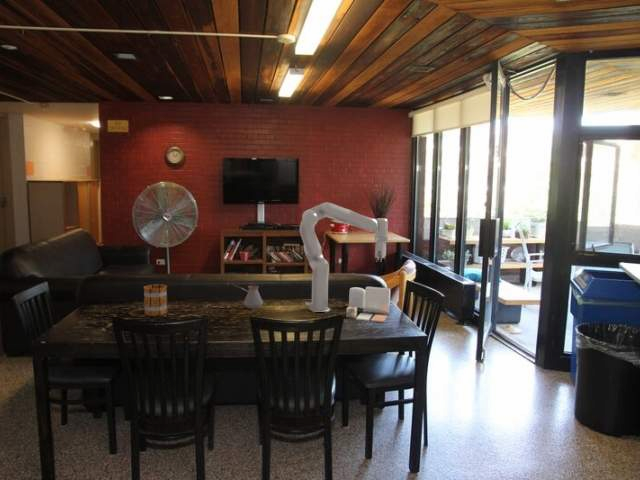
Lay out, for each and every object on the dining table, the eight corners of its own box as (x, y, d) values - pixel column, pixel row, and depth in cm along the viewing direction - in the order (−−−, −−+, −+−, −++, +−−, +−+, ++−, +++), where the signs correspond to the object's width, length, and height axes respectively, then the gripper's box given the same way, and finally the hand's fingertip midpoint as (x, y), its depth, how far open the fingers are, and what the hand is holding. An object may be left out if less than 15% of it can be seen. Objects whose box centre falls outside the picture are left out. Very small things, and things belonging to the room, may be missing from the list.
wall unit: (362, 312, 291) (363, 288, 289) (365, 309, 299) (366, 285, 297) (389, 315, 286) (390, 290, 285) (391, 312, 294) (392, 288, 292)
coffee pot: (264, 305, 303) (264, 281, 301) (260, 310, 292) (261, 285, 290) (229, 304, 304) (229, 280, 302) (225, 309, 293) (225, 284, 291)
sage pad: (355, 319, 276) (355, 318, 276) (360, 314, 287) (360, 312, 287) (368, 320, 274) (368, 319, 274) (372, 315, 285) (372, 314, 285)
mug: (162, 316, 275) (161, 289, 273) (139, 314, 276) (138, 288, 274) (176, 307, 294) (176, 282, 292) (154, 306, 296) (154, 281, 294)
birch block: (346, 317, 281) (346, 308, 281) (348, 314, 286) (348, 306, 286) (354, 317, 280) (355, 309, 279) (356, 315, 285) (357, 307, 284)
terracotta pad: (370, 321, 273) (370, 319, 273) (375, 315, 285) (375, 314, 285) (383, 322, 271) (383, 321, 271) (387, 317, 283) (387, 315, 283)
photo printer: (365, 307, 303) (366, 287, 302) (363, 309, 299) (364, 289, 298) (350, 305, 307) (350, 286, 306) (347, 307, 303) (348, 287, 302)
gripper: (378, 237, 305) (377, 264, 307) (371, 240, 289) (371, 269, 291) (390, 237, 303) (389, 265, 305) (384, 240, 286) (384, 269, 288)
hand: (380, 267), depth 298 cm, fingers open, 9 cm apart
